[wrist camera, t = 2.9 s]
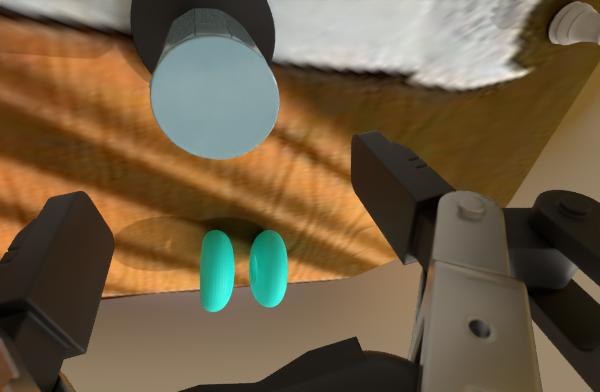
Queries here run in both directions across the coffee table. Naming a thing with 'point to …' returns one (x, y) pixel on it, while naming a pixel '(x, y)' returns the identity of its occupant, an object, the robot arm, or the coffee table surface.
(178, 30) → the cup
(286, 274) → the donuts
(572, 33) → the rook chess piece
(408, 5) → the coffee table surface
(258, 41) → the holder
